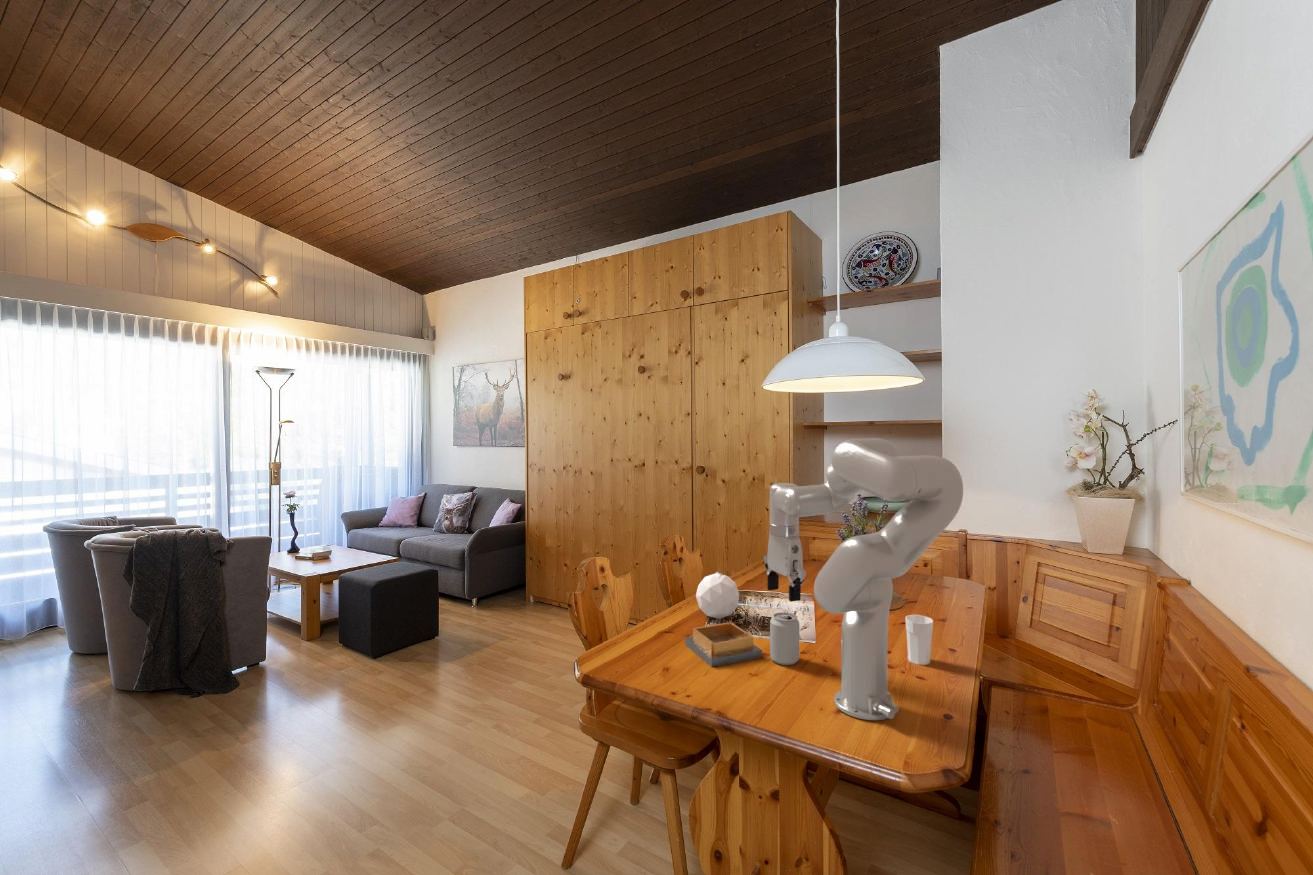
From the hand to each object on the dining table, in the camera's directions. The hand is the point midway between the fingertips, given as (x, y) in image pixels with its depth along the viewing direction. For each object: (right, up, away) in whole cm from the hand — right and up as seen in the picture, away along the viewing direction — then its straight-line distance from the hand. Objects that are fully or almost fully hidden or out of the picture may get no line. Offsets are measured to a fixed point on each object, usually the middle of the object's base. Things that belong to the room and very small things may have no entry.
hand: (783, 594), depth 149 cm
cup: (+35, -17, -1) cm, 39 cm away
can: (0, -18, 0) cm, 18 cm away
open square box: (-15, -17, +7) cm, 24 cm away
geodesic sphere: (-14, -17, +34) cm, 41 cm away
